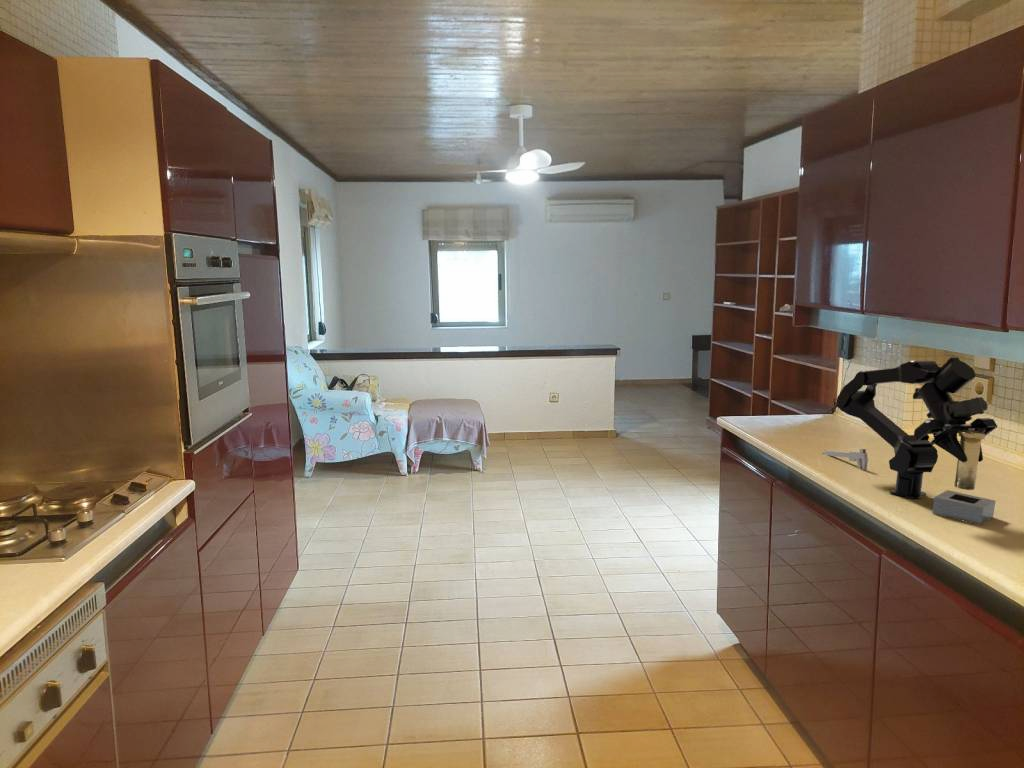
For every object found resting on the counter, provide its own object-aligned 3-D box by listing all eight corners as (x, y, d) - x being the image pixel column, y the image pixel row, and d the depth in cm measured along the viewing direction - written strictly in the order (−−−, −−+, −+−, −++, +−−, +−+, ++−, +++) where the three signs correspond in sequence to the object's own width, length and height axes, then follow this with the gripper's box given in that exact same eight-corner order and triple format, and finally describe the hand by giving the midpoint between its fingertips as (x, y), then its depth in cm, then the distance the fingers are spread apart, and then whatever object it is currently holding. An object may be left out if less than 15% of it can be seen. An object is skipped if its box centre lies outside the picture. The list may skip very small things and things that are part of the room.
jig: (945, 506, 175) (947, 490, 174) (993, 517, 167) (995, 500, 167) (932, 513, 169) (934, 497, 168) (980, 525, 162) (983, 508, 161)
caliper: (866, 471, 205) (869, 450, 204) (863, 471, 205) (865, 450, 204) (824, 453, 225) (826, 434, 224) (821, 453, 225) (823, 434, 224)
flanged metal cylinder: (950, 482, 170) (957, 429, 168) (974, 485, 168) (982, 431, 166) (953, 488, 165) (961, 433, 163) (979, 491, 164) (986, 435, 162)
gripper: (929, 385, 165) (963, 444, 156) (996, 384, 169) (1032, 441, 160) (899, 412, 174) (930, 469, 165) (963, 410, 178) (996, 466, 169)
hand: (973, 461), depth 164 cm, fingers closed on flanged metal cylinder, 4 cm apart
